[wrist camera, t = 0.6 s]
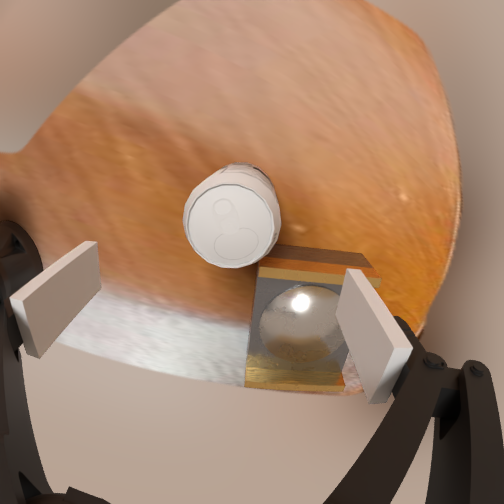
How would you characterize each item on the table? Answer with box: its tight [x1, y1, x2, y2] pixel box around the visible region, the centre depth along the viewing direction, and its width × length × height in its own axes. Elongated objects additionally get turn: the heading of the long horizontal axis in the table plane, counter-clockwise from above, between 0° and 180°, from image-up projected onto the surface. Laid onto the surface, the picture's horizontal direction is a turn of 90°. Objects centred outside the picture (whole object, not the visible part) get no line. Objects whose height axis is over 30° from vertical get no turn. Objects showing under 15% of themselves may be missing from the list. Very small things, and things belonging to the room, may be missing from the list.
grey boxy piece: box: [244, 244, 382, 392], centre depth 40 cm, size 14×18×8 cm
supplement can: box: [183, 162, 281, 268], centre depth 31 cm, size 8×8×15 cm
